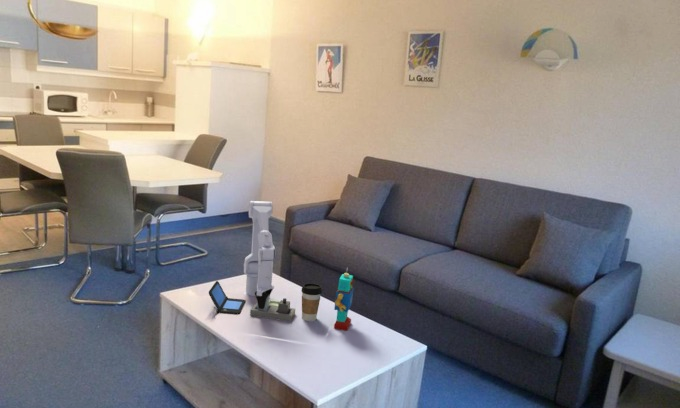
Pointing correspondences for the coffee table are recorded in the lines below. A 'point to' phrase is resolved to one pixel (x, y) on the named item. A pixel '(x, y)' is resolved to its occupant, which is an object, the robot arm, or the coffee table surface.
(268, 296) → the plug
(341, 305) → the toy robot
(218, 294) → the handheld game console
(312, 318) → the coffee cup
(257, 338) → the coffee table surface
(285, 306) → the twin plug
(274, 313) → the power strip
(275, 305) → the tray
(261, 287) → the robot arm
